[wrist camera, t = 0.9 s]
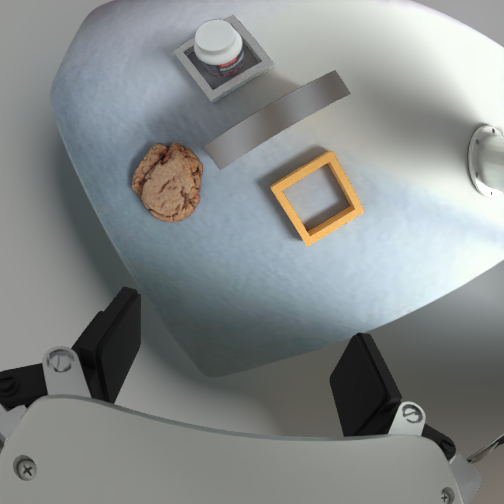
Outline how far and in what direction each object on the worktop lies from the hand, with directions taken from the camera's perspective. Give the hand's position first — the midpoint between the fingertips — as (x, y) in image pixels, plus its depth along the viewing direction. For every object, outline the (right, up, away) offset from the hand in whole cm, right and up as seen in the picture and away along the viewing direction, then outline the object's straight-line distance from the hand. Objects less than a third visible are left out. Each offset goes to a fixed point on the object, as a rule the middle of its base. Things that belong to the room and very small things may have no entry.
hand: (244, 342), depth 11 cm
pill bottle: (-3, +28, +18) cm, 33 cm away
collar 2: (+9, +11, +24) cm, 28 cm away
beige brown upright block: (+3, +20, +21) cm, 29 cm away
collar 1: (-3, +28, +17) cm, 33 cm away
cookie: (-10, +13, +24) cm, 29 cm away
